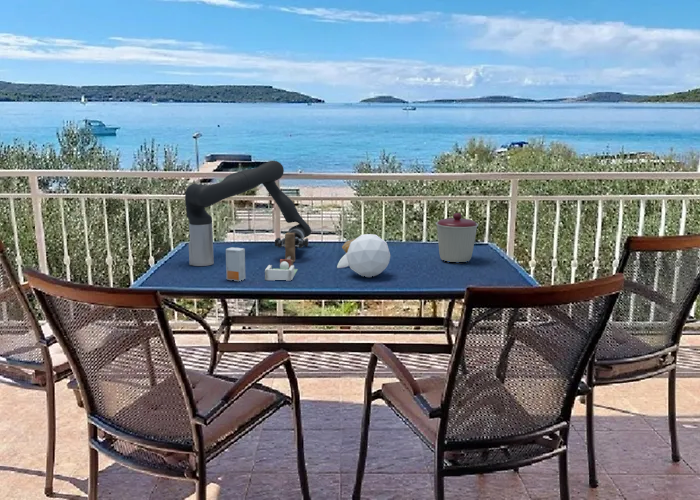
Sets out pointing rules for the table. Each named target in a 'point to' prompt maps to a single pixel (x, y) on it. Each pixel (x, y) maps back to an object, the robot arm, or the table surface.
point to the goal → (279, 274)
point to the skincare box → (235, 264)
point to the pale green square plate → (294, 270)
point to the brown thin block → (289, 248)
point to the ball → (284, 265)
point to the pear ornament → (366, 255)
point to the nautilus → (347, 245)
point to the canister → (456, 238)
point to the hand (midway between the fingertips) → (289, 245)
